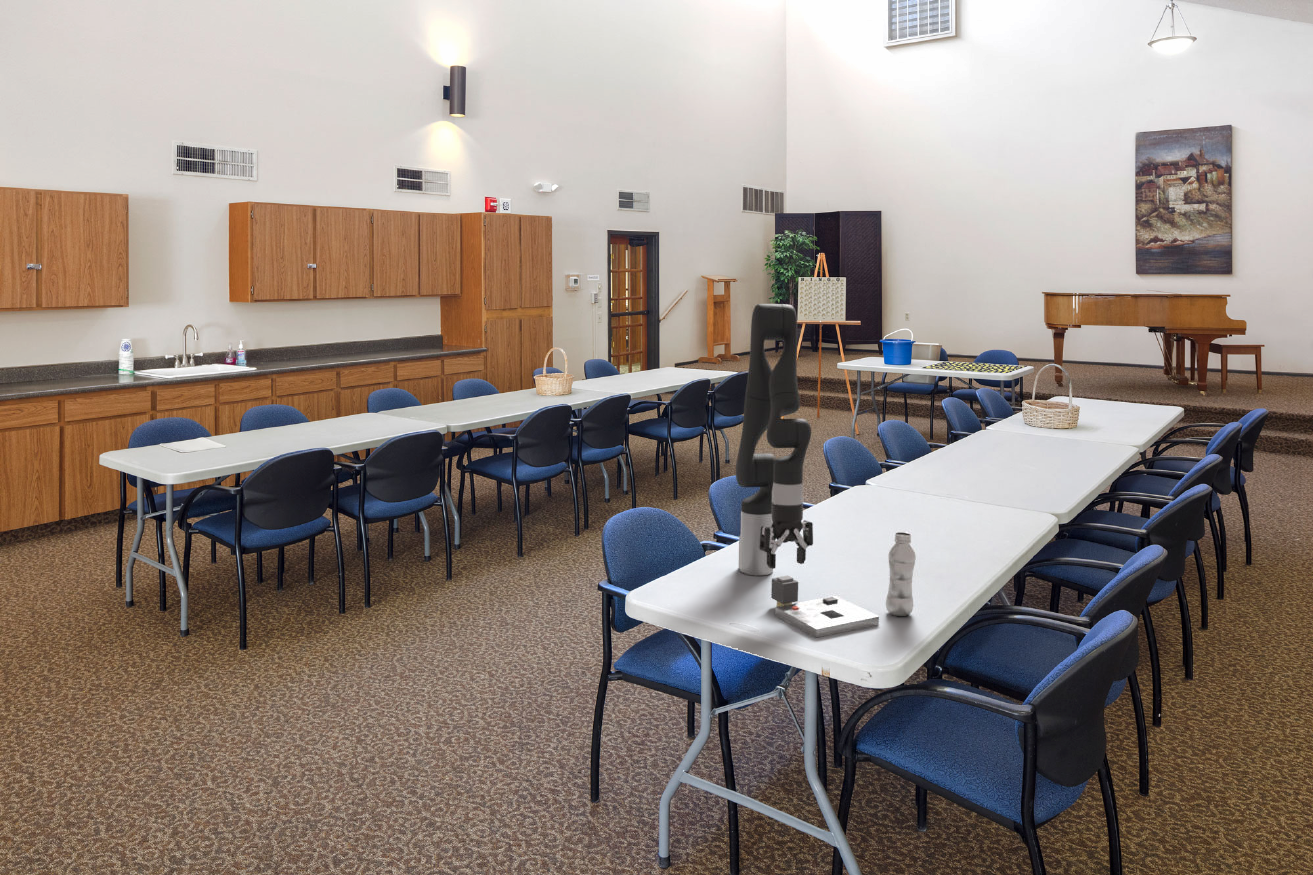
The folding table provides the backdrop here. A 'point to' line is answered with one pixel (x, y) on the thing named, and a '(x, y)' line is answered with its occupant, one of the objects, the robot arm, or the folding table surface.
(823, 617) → the socket plate
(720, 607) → the folding table surface
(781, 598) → the plug
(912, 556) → the plastic bottle
